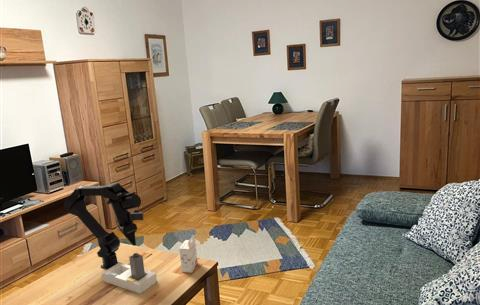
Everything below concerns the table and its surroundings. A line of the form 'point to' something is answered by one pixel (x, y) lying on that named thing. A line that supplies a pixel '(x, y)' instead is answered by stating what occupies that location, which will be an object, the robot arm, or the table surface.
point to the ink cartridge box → (188, 255)
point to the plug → (137, 266)
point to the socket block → (128, 278)
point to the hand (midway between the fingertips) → (132, 243)
